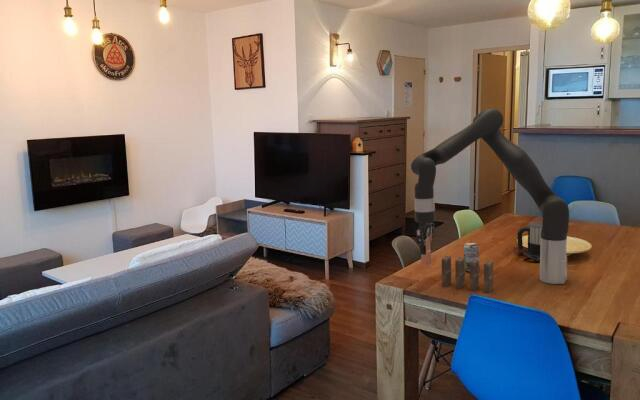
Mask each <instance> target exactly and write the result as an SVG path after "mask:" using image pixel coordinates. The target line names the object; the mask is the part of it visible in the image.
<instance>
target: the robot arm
mask: <svg viewBox="0 0 640 400" xmlns="http://www.w3.org/2000/svg"><path fill="white" fill-rule="evenodd" d="M503 123H504V115H503V114H502V112H501V111H500V110H498V109H497V108H486V109H484V110H482V111H481V112H480V113H478V114H476V115H475V116H474V118H473V119H472V123H470V124H469V125H467V127H465V128H463V129H461V130H460V131H459V132H457V133H455V134H453V135H451V136H450V137H448V138H447V139H444V141H442V142H441V143H439V144H438V145H436V146H435V147H433V148H431V149H429V150H428V151H426V152H425V151H424V152H423V153H421V154H419V155H418V156H417V157H415V158H414V159H413V160H412V162H411V165H410V169H411V172H412V173H414V174H415V175H417V176H418V180H417V183H415V185H414V221H415V222H416V223H418V224H419V225H418V229H415V232H414V233H415V239H416V244H417V245H418V246H419V254H420V255H421V254H422V255H425V254H426V240H427V239H428V236H430V240H431V242H433V239H435V226H436V225H435V223H434V222H435V220H436V213H435V212H436V211H435V210H436V207H435V205H436V204H435V200H434V198H435V197H434V195H435V194H434V193H435V192H434V185H435V180H436V176H437V175H436V174H437V166H438V165H443V164H445V163H447V162H449V161H450V160H452V159H453V158H454V157H456V156H458V154H460V153H461V152H462V151H464V150H466V149H467V148H468V147H469V146H471V145H472V144H473V143H475V142H476V141H478V140H480V139H482V140H483V141H484V143H486V144H487V145H488V147H489V148H490V149H491V150H492V151H493V152H494V154H495V155H496V157H498V160H500V162H501V163H502V164H503V166H504V167H505V168H506V169H507V171H508V173H509V174H510V175H511V176H512V177H513V179H514V180H515V182H517V183H518V184H519V185H520V186H521V187H522V188H523V189H524V190H525V191H526V192H527V193H528V194H529V195H530V197H531V198H532V199H533V201H534V203H535V204H536V206H537V208H538V209H539V211H540V213H541V216H542V230H541V246H540V261H539V281H541V282H542V283H546V284H550V285H565V283H566V281H567V277H568V276H567V273H568V256H567V241H568V240H567V238H568V232H569V227H570V225H569V223H570V208H569V205H568V203H567V202H566V201H565V200H563V199H562V198H561V197H560V196H558V195H557V194H556V192H554V190H553V189H552V188H551V187H549V185H548V184H547V182H546V181H545V179H544V177H543V175H542V174H541V172H540V170H539V168H538V166H537V165H536V163H535V162H534V161H533V159H532V158H531V157H530V155H529V154H528V153H527V152H526V151H525V150H524V149H522V148H521V147H520V146H518V145H517V144H515V143H514V142H512V141H511V140H510V139H508V138H507V137H506V136H505V135H504V133H503V132H502V131H501V130H500V129H501V128H502V126H503V125H504V124H503ZM424 236H425V237H424ZM431 251H432V245H431Z"/></svg>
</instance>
